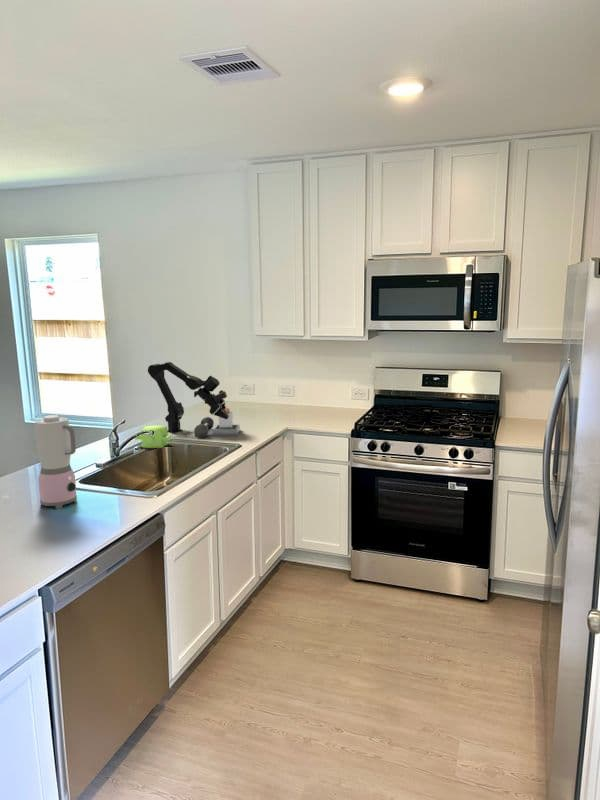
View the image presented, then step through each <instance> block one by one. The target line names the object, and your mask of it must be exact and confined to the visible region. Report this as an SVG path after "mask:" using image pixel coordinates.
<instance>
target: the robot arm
mask: <svg viewBox="0 0 600 800" xmlns="http://www.w3.org/2000/svg"><path fill="white" fill-rule="evenodd" d="M165 371H168V372H169V373H171V374H172V375H173V376H175V377H177V378H178V379H180V380H182V382H184V384H185V386H187V387H188V388H189V389H190V390H192V391H194V390H195V391H194V392H193V397H194V398H196V397H199V398H200V399H201V400H202V401H203V402H204V404H205V405H208V407H209V413H210V415H213V416H215V417H218V418H219V417H221V418H224V419H228V417H227V416H226V414H225V413H224V412H223V411H222V409H223V408H227V407H226V400H225V399H226V398H227V397H228V395H227V392H226V391H225V390H223V389H222V390H221V389H220V390H219V391H218V393H217V394H215V393H212V392H214V391H215V390H216V389H217V388H218V387H219V386H220V385H221V384H220V380H219V379H217V378H215V376H214V377H213V376H212V375H209V376H208V377H207V379H206V380H202V379H201V378H200V377H197V376H195V375H191V374H189V373H187V372H186V371H184V370H183V369H182V368H180V367H178V366H177V365H176V364H174V363H173V362H172V361H167V362H164V363H154V364H151V365H149V366H148V368H147V373H148V375H149V376H150V377H151V379H153V380H154V381H155V382H156V384H157V386H158V388H159V391H160V393H161V394H162V397H163V398H164V400H165V402H166V405H167V413H168V414H167V415H166V416H165V418H164V419H165V422H166V423H167V432H169V433H174V434H175V433H178V432H182V431H183V429H181V421H180V420H182V418H183V416H184V414H185V410H184V409H185V407H184V406H183V404H182V402H178V401H177V400H176V399H175V396H174V395H173V393H172V390H171V389H170V386H169V384H168V382H167V379H166V378H165ZM197 389H198V390H197Z"/></svg>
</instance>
